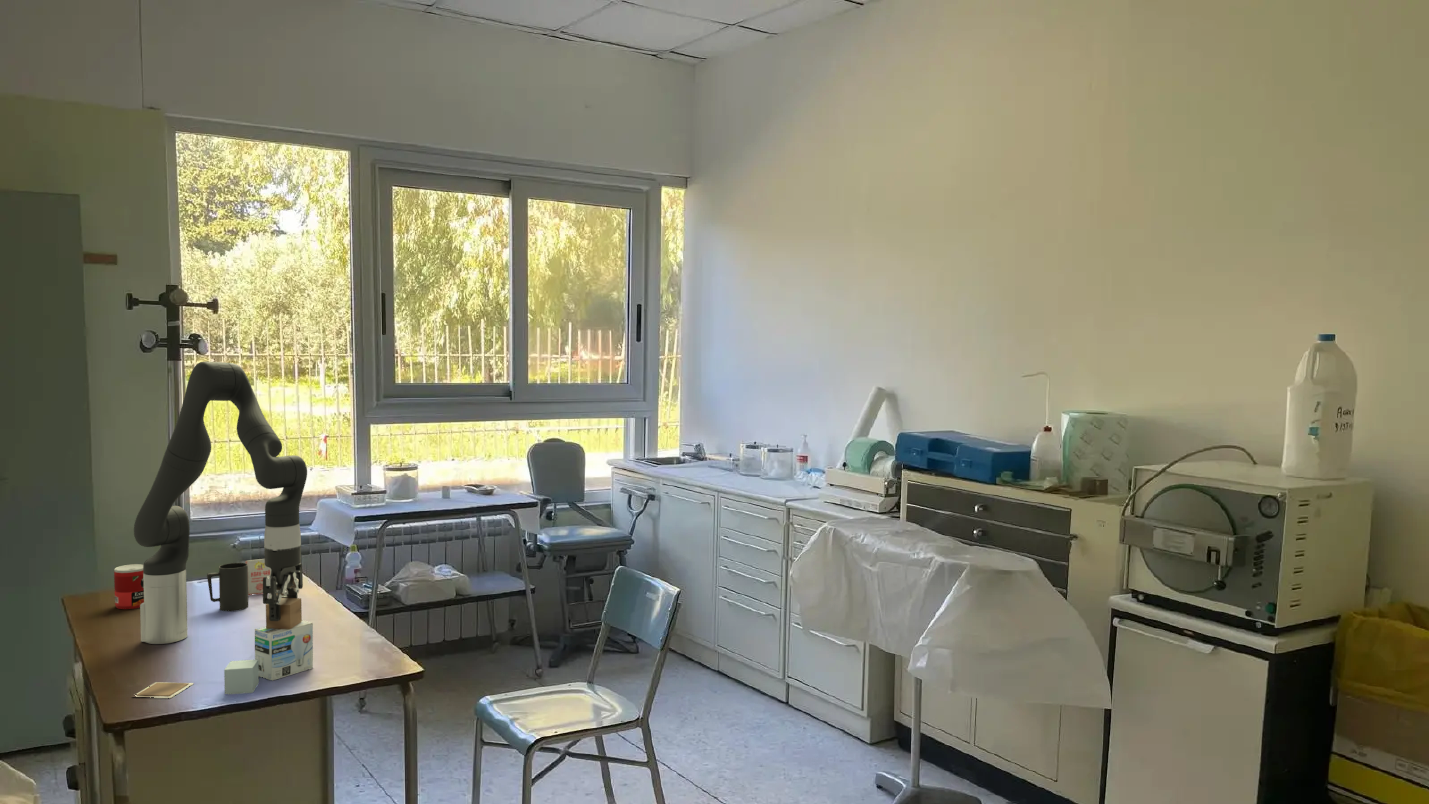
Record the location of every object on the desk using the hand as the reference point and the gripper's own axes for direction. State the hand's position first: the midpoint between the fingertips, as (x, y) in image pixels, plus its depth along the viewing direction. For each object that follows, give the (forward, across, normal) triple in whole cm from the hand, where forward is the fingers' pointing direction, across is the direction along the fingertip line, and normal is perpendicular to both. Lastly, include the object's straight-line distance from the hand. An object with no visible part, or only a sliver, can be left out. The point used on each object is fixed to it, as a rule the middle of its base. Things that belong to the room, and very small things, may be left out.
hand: (283, 615), depth 212 cm
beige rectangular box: (+13, -65, -39) cm, 77 cm away
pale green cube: (+13, +11, -4) cm, 18 cm away
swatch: (+13, +13, -20) cm, 27 cm away
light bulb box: (+13, 0, 0) cm, 13 cm away
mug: (+13, -48, -39) cm, 63 cm away
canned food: (+13, -49, -67) cm, 84 cm away
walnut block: (+2, 0, 0) cm, 2 cm away
